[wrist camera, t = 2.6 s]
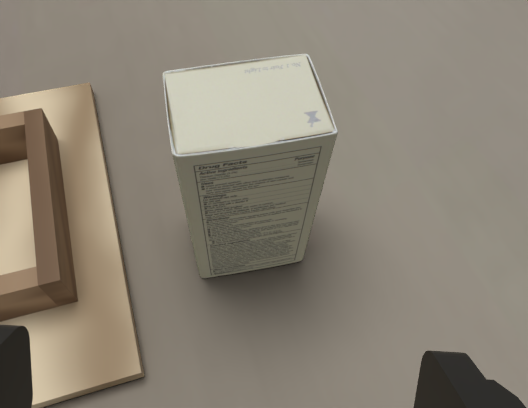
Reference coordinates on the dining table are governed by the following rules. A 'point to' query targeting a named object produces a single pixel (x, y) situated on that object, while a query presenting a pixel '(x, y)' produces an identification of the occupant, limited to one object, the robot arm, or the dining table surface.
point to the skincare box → (249, 158)
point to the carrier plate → (63, 246)
